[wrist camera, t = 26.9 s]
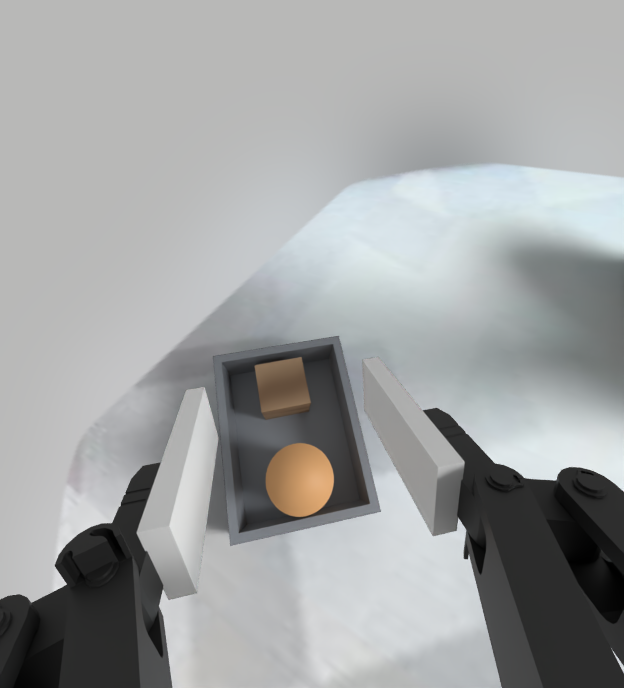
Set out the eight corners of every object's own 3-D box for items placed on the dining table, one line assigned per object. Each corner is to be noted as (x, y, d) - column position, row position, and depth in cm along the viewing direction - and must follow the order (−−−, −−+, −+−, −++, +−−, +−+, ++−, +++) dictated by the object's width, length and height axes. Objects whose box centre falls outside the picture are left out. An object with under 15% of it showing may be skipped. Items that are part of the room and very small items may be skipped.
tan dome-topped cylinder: (287, 444, 36) (283, 432, 25) (329, 464, 36) (344, 460, 25) (267, 489, 35) (253, 497, 23) (310, 510, 34) (317, 529, 23)
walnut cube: (259, 377, 39) (254, 365, 34) (300, 370, 40) (301, 356, 35) (265, 419, 37) (261, 412, 33) (308, 411, 38) (310, 402, 33)
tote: (224, 372, 40) (213, 356, 34) (332, 354, 42) (338, 335, 36) (241, 533, 34) (230, 545, 28) (367, 505, 35) (380, 511, 30)
